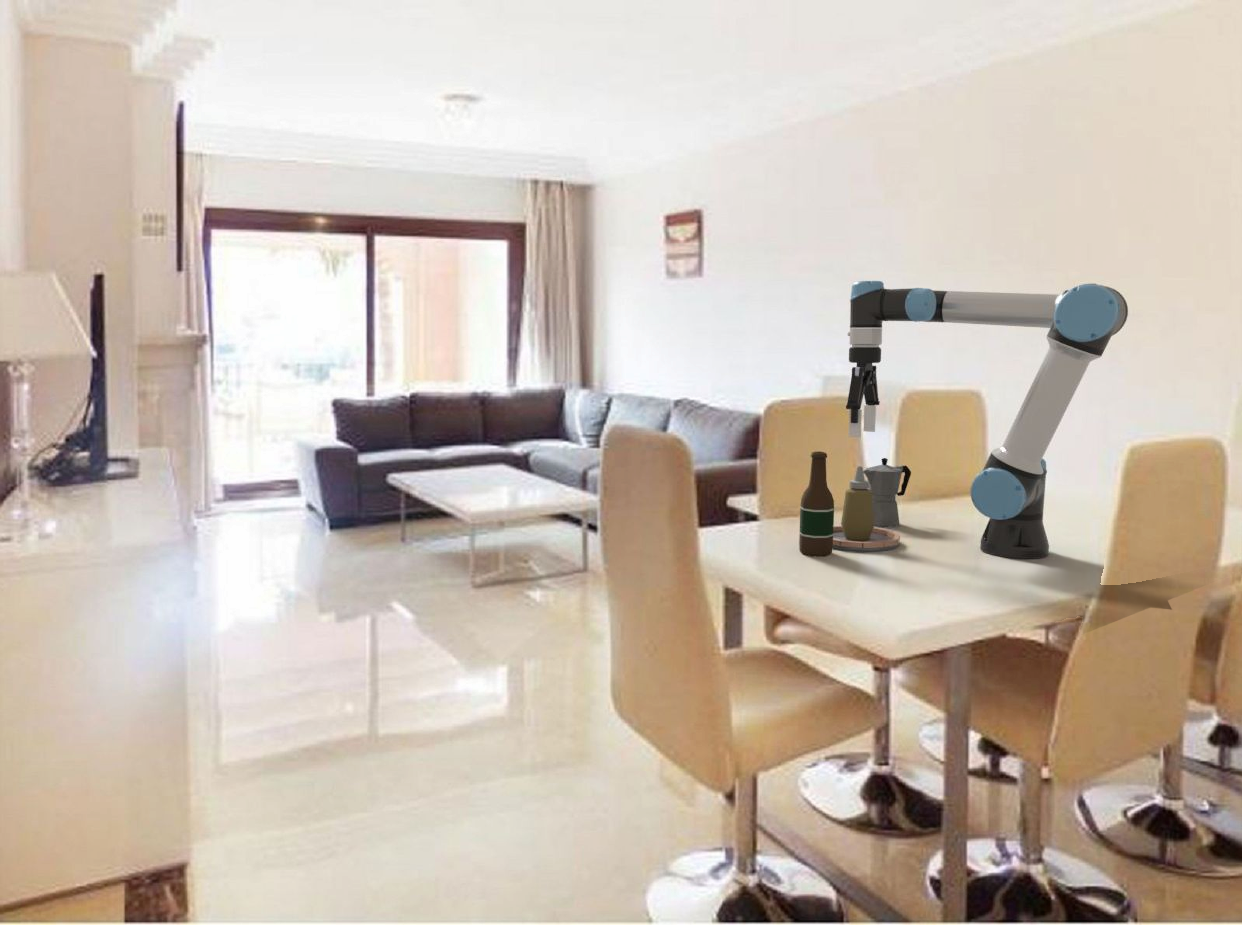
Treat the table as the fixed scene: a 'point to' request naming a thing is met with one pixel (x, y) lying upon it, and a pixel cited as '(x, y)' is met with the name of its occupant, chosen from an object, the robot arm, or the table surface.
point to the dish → (866, 541)
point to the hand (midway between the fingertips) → (862, 434)
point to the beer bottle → (817, 511)
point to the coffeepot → (886, 491)
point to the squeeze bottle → (858, 509)
